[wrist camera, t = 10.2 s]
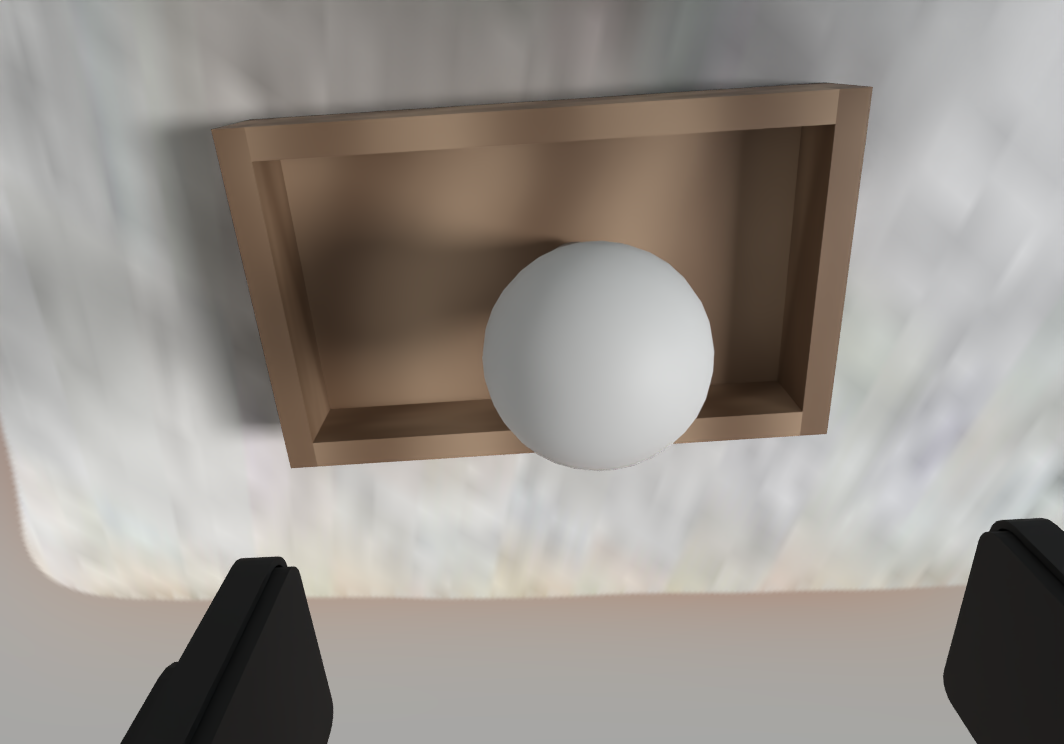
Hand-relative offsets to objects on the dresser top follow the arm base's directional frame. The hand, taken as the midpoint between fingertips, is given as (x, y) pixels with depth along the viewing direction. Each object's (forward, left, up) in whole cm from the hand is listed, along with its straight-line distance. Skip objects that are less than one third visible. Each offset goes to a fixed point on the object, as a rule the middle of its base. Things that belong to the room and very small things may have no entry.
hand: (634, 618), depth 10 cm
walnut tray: (0, 0, -19) cm, 19 cm away
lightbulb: (-1, 0, -18) cm, 18 cm away
